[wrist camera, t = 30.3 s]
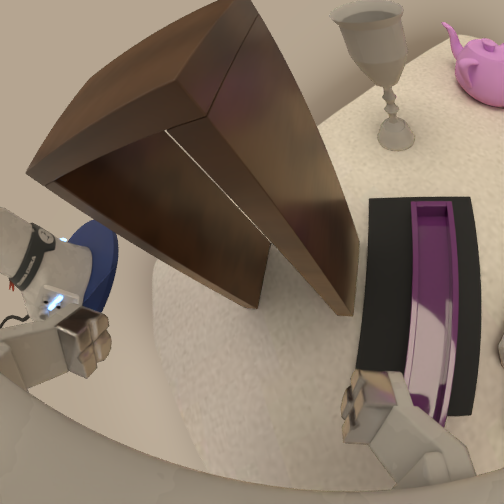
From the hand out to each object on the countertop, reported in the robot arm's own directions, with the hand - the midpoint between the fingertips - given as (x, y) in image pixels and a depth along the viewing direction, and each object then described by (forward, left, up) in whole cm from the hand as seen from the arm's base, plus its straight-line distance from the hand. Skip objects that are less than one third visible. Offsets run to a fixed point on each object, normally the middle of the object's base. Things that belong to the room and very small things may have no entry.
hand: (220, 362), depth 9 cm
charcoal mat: (+11, 0, -21) cm, 23 cm away
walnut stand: (+3, +11, -21) cm, 24 cm away
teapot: (+45, +11, -21) cm, 50 cm away
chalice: (+25, +16, -21) cm, 36 cm away
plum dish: (+10, -2, -20) cm, 22 cm away
